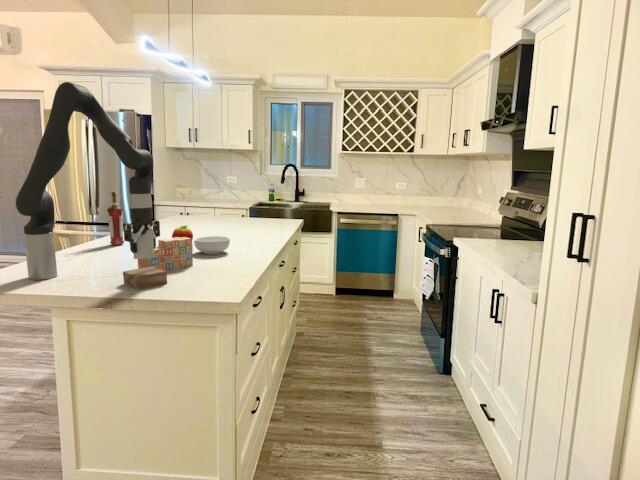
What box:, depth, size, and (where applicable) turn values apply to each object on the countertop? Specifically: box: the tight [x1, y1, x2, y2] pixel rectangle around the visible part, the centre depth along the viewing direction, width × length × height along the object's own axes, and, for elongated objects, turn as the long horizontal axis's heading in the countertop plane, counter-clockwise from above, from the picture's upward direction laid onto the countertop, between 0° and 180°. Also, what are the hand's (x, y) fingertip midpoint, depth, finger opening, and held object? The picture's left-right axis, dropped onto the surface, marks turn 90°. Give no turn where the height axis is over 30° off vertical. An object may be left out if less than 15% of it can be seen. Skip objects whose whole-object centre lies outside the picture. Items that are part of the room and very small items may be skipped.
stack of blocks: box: [137, 237, 194, 271], centre depth 183 cm, size 21×6×12 cm, turn 135°
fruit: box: [171, 225, 194, 240], centre depth 233 cm, size 11×11×10 cm
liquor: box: [106, 191, 125, 246], centre depth 227 cm, size 7×7×28 cm
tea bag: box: [133, 229, 154, 260], centre depth 158 cm, size 4×7×10 cm, turn 109°
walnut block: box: [122, 266, 168, 291], centre depth 160 cm, size 11×11×5 cm
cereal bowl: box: [193, 235, 231, 255], centre depth 214 cm, size 17×17×7 cm
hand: (143, 250), depth 159 cm, fingers closed on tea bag, 7 cm apart
